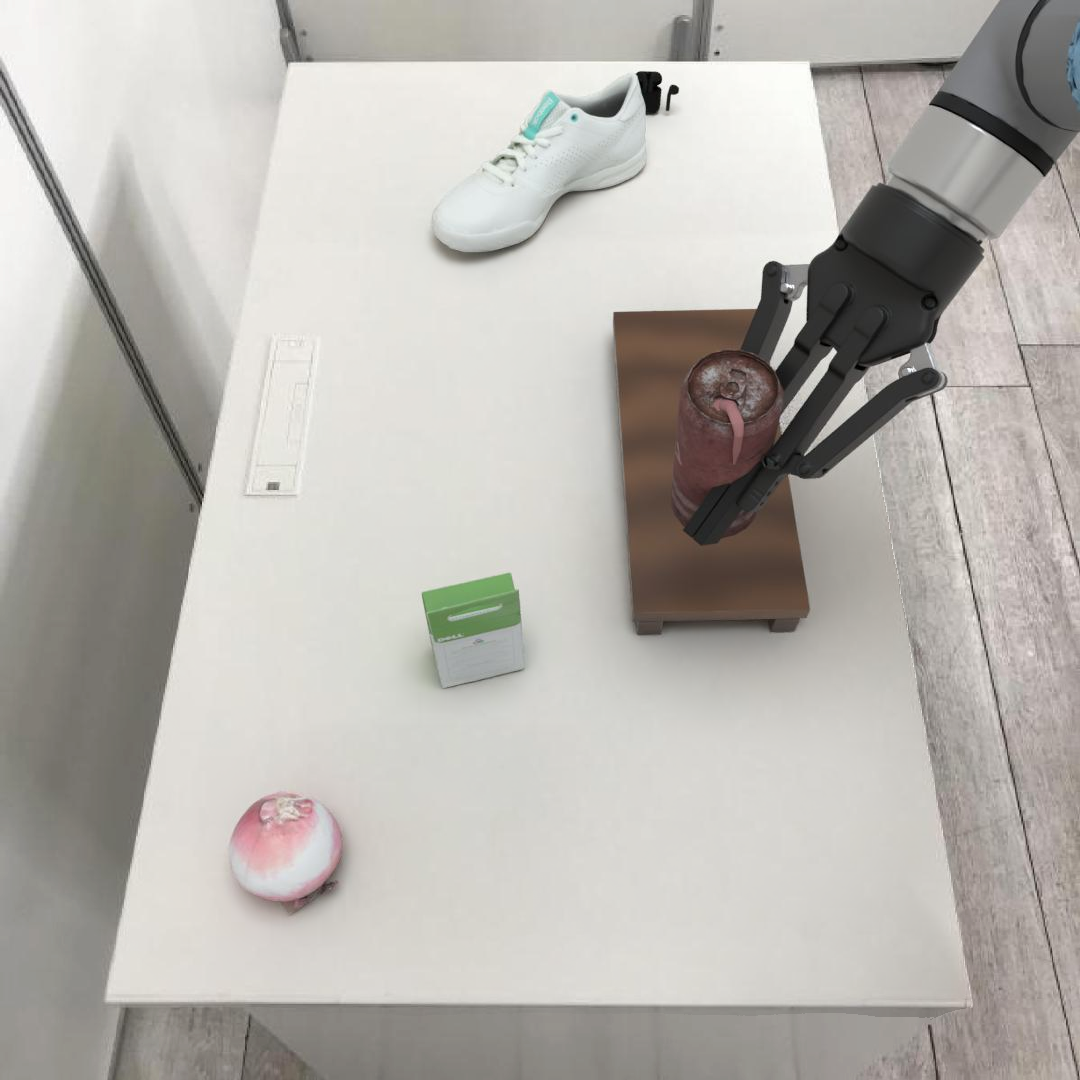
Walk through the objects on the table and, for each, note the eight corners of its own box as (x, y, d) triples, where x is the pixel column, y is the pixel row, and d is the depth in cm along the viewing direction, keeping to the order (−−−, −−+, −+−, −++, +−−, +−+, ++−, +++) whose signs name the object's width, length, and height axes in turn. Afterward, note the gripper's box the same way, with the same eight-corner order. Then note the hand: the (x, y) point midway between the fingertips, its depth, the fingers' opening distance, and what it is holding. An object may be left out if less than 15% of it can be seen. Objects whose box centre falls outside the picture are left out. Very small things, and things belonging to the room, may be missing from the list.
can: (684, 554, 73) (698, 441, 61) (661, 476, 76) (669, 355, 64) (770, 535, 73) (801, 419, 61) (743, 459, 76) (767, 334, 64)
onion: (361, 818, 80) (344, 788, 74) (334, 923, 76) (314, 901, 70) (259, 801, 81) (234, 770, 75) (227, 905, 77) (198, 881, 71)
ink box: (514, 627, 88) (508, 545, 77) (526, 670, 86) (521, 592, 75) (432, 646, 88) (413, 566, 76) (441, 690, 86) (423, 614, 74)
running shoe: (410, 227, 113) (395, 134, 102) (602, 122, 121) (606, 26, 111) (466, 281, 108) (457, 189, 98) (661, 168, 117) (671, 73, 107)
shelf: (800, 632, 88) (810, 610, 84) (630, 635, 88) (633, 613, 84) (754, 336, 104) (761, 308, 101) (611, 339, 104) (613, 311, 101)
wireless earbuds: (614, 115, 121) (616, 76, 117) (615, 101, 123) (617, 61, 118) (676, 116, 121) (680, 77, 117) (676, 102, 122) (680, 63, 118)
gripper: (1043, 283, 61) (797, 596, 70) (860, 170, 66) (652, 475, 75) (1024, 261, 55) (756, 609, 63) (823, 138, 60) (601, 476, 68)
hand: (700, 536), depth 69 cm, fingers closed
